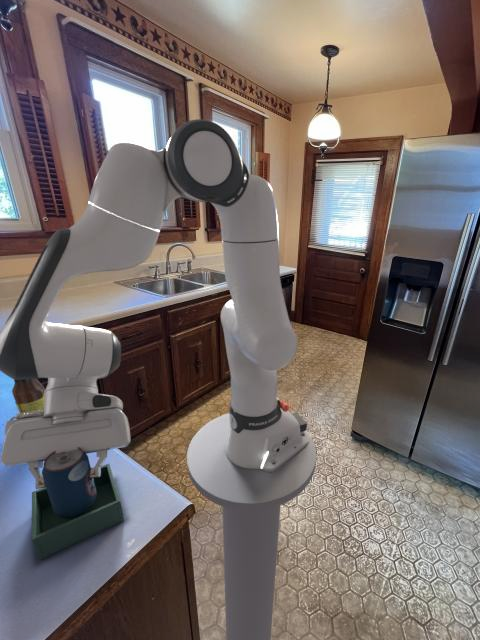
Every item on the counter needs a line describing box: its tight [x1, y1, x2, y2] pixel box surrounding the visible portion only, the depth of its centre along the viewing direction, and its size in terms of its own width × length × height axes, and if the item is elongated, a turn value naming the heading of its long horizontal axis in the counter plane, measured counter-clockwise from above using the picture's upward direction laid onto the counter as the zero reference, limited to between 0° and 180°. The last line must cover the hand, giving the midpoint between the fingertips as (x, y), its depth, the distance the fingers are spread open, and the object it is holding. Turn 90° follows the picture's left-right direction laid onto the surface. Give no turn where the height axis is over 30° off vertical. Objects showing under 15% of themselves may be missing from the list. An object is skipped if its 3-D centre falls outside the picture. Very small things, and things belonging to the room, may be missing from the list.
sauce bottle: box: [11, 379, 46, 414], centre depth 77 cm, size 7×6×20 cm
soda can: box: [41, 447, 97, 519], centre depth 57 cm, size 7×7×12 cm
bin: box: [31, 463, 125, 561], centre depth 59 cm, size 13×11×5 cm
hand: (69, 482), depth 56 cm, fingers closed on soda can, 7 cm apart
